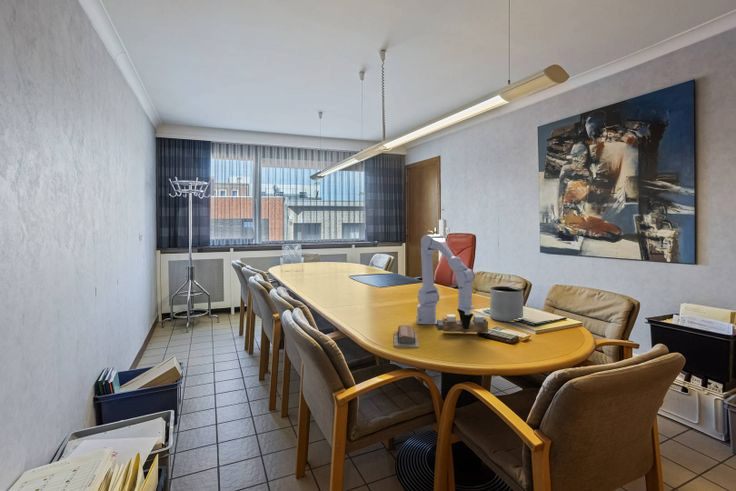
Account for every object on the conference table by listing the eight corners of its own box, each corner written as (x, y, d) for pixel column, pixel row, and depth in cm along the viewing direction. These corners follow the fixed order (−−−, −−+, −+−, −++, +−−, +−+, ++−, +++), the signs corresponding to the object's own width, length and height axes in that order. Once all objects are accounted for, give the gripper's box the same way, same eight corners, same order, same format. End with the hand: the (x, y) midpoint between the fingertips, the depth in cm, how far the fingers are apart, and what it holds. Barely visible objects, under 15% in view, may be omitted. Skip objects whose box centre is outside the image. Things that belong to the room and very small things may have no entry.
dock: (438, 329, 172) (438, 324, 172) (436, 323, 182) (436, 319, 181) (487, 330, 169) (487, 326, 169) (482, 324, 179) (482, 320, 179)
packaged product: (393, 324, 166) (416, 324, 165) (393, 334, 166) (416, 334, 165) (393, 336, 148) (418, 337, 147) (394, 348, 148) (418, 348, 147)
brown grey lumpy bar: (443, 331, 162) (443, 320, 162) (442, 327, 168) (442, 317, 168) (487, 332, 160) (488, 322, 160) (485, 328, 166) (485, 318, 165)
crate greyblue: (475, 323, 161) (475, 317, 161) (473, 321, 165) (473, 314, 165) (483, 324, 161) (483, 317, 161) (481, 321, 165) (481, 315, 165)
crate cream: (447, 323, 163) (447, 316, 162) (446, 320, 167) (446, 314, 166) (455, 323, 162) (455, 316, 162) (454, 320, 166) (454, 314, 166)
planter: (498, 313, 200) (498, 284, 199) (528, 318, 189) (528, 288, 188) (484, 318, 189) (484, 289, 188) (514, 325, 178) (515, 293, 177)
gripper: (477, 300, 155) (476, 331, 156) (471, 293, 170) (471, 322, 171) (460, 300, 156) (460, 331, 157) (455, 293, 170) (455, 322, 171)
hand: (464, 326), depth 164 cm, fingers closed on brown grey lumpy bar, 5 cm apart
